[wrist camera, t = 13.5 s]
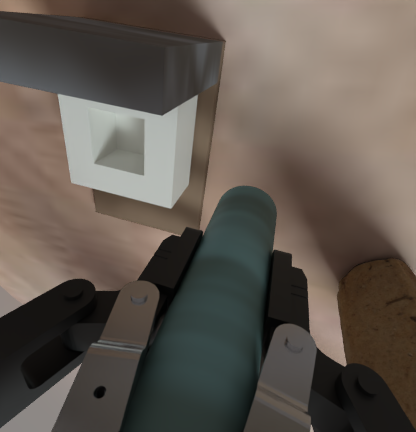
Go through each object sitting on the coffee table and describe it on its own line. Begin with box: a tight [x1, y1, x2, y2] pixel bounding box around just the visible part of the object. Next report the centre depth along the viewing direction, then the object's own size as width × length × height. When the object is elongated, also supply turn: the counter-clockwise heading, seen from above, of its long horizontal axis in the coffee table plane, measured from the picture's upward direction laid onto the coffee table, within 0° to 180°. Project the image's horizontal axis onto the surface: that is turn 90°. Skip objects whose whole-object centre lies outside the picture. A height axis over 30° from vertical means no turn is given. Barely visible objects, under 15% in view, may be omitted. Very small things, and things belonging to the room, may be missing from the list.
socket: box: [58, 94, 198, 209], centre depth 26 cm, size 10×10×5 cm
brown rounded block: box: [337, 258, 416, 430], centre depth 24 cm, size 11×8×20 cm
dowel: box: [123, 186, 277, 432], centre depth 11 cm, size 3×3×12 cm
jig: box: [0, 11, 226, 235], centre depth 25 cm, size 20×13×13 cm, turn 172°
